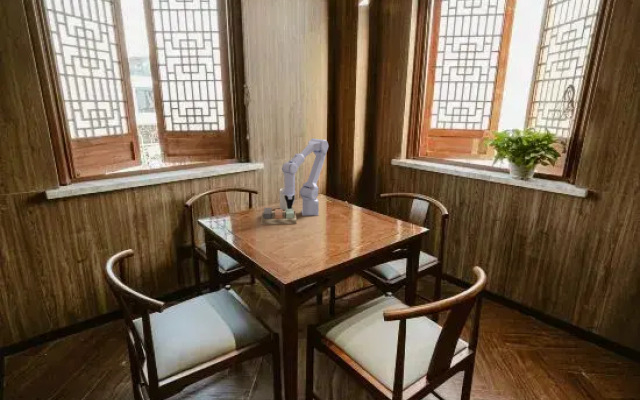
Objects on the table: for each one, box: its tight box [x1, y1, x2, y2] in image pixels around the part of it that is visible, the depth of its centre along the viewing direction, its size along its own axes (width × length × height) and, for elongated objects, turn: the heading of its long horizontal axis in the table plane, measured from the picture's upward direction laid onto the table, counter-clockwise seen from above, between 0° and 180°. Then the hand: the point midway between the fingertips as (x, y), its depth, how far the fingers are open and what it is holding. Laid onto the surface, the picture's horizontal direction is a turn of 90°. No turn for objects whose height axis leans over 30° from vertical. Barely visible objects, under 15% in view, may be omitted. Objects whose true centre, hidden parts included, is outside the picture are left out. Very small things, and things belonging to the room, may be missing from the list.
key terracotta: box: [274, 208, 283, 219], centre depth 194 cm, size 4×11×4 cm, turn 7°
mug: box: [279, 187, 296, 211], centre depth 212 cm, size 10×7×12 cm, turn 69°
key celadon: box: [285, 206, 294, 219], centre depth 194 cm, size 4×11×4 cm, turn 7°
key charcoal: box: [263, 207, 273, 219], centre depth 193 cm, size 4×11×4 cm, turn 7°
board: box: [260, 210, 297, 225], centre depth 194 cm, size 19×15×2 cm
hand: (289, 208), depth 193 cm, fingers closed
